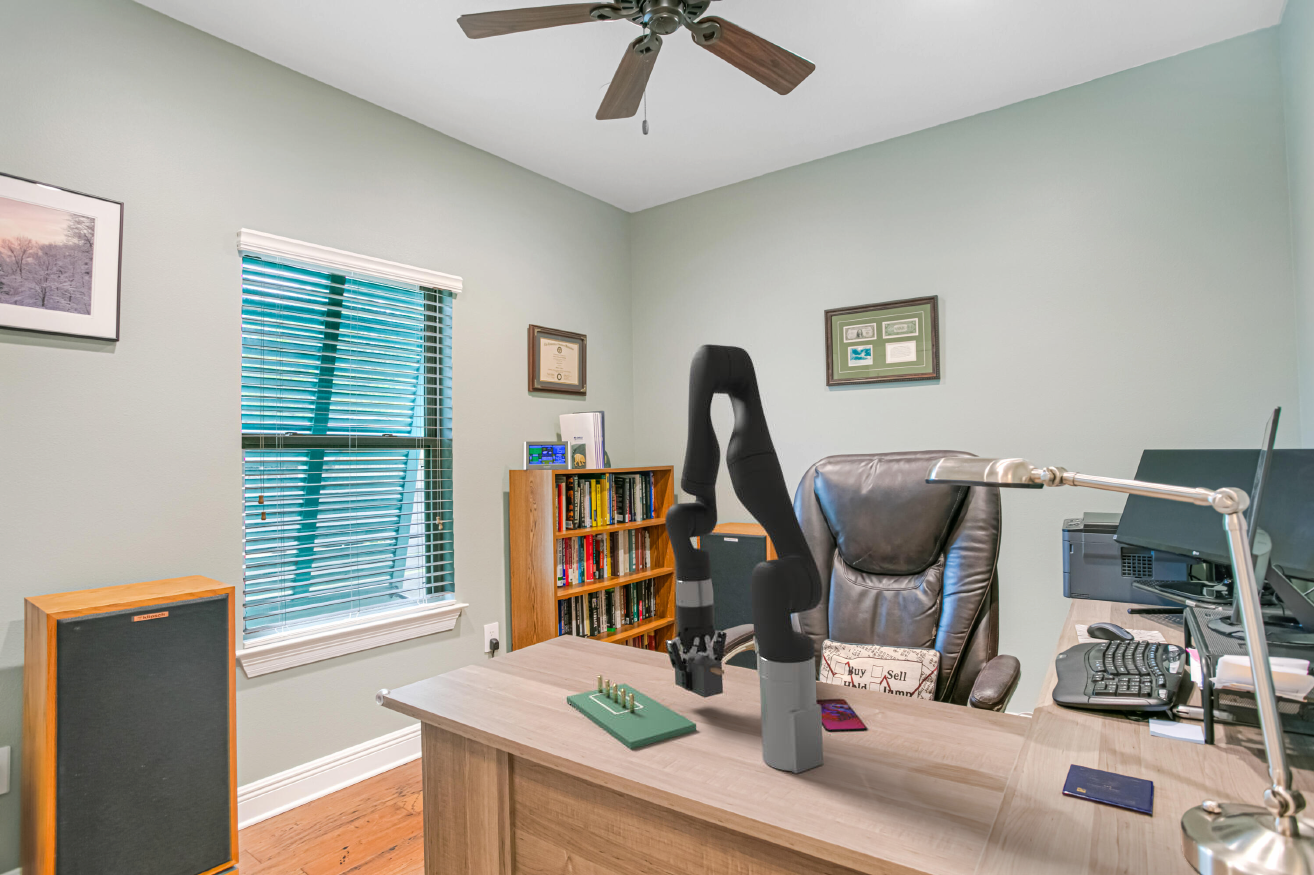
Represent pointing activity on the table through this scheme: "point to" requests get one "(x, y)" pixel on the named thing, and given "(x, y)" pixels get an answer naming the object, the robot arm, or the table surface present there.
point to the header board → (631, 717)
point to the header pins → (616, 694)
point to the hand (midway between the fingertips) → (698, 686)
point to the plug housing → (704, 676)
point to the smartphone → (839, 716)
